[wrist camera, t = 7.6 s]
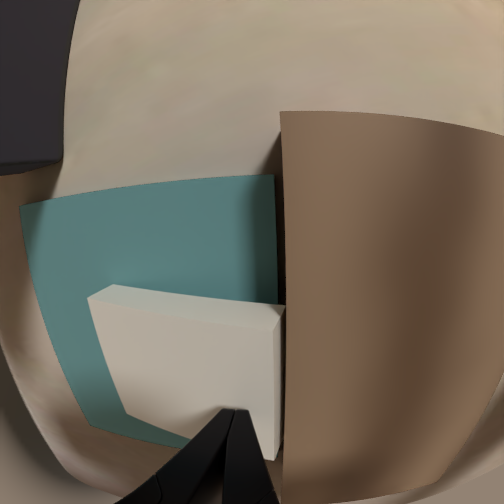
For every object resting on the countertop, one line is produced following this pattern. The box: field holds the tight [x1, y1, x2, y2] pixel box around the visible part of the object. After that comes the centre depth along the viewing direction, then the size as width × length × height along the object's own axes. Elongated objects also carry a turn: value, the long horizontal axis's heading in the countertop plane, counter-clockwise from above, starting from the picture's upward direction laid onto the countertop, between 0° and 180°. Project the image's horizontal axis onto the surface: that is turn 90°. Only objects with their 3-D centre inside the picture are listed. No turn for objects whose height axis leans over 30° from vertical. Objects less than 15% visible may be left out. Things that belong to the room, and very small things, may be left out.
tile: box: [87, 284, 286, 461], centre depth 10 cm, size 7×6×2 cm
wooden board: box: [280, 111, 504, 504], centre depth 9 cm, size 9×17×3 cm, turn 3°
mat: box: [19, 174, 278, 457], centre depth 12 cm, size 12×14×1 cm
